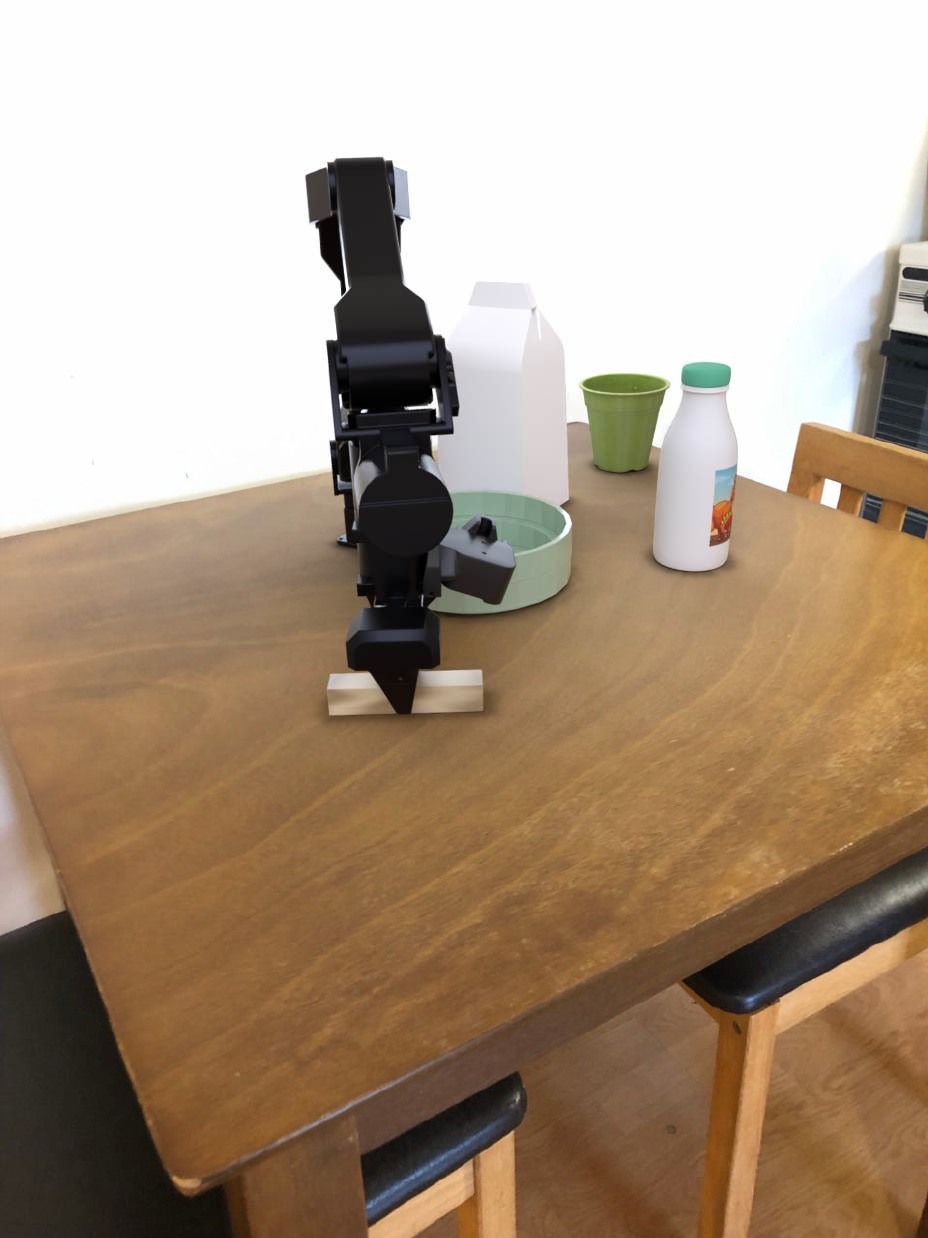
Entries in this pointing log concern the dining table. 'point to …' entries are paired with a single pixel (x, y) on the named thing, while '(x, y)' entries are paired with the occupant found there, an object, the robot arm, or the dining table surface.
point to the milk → (507, 397)
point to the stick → (430, 695)
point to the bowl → (516, 548)
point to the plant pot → (623, 417)
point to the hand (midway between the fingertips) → (406, 692)
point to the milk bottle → (697, 474)
